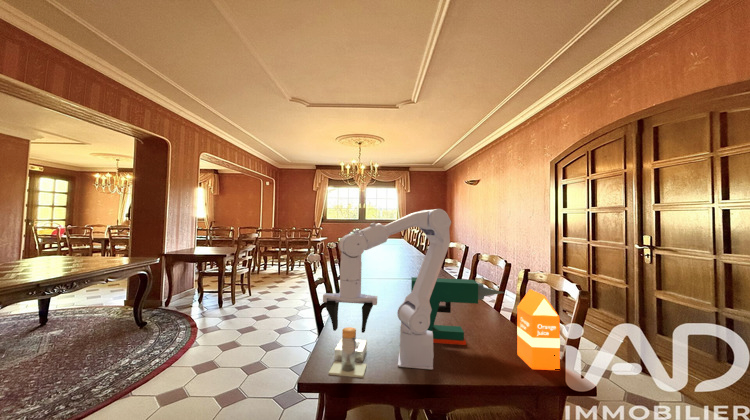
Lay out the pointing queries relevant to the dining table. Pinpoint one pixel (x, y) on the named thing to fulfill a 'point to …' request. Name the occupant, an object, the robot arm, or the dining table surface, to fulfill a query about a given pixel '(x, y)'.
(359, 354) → the block
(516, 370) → the dining table surface
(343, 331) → the orange capped bottle
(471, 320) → the dining table surface
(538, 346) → the orange juice
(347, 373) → the key mat
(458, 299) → the power tool
